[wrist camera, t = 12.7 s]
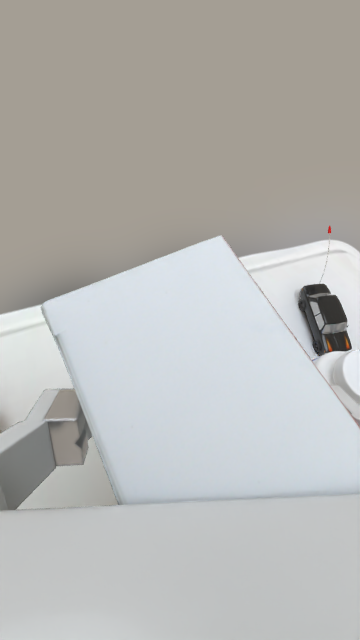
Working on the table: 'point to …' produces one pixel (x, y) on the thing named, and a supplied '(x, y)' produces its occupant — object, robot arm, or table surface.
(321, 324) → the toy car
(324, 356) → the pill bottle
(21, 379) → the table surface
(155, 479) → the small box
